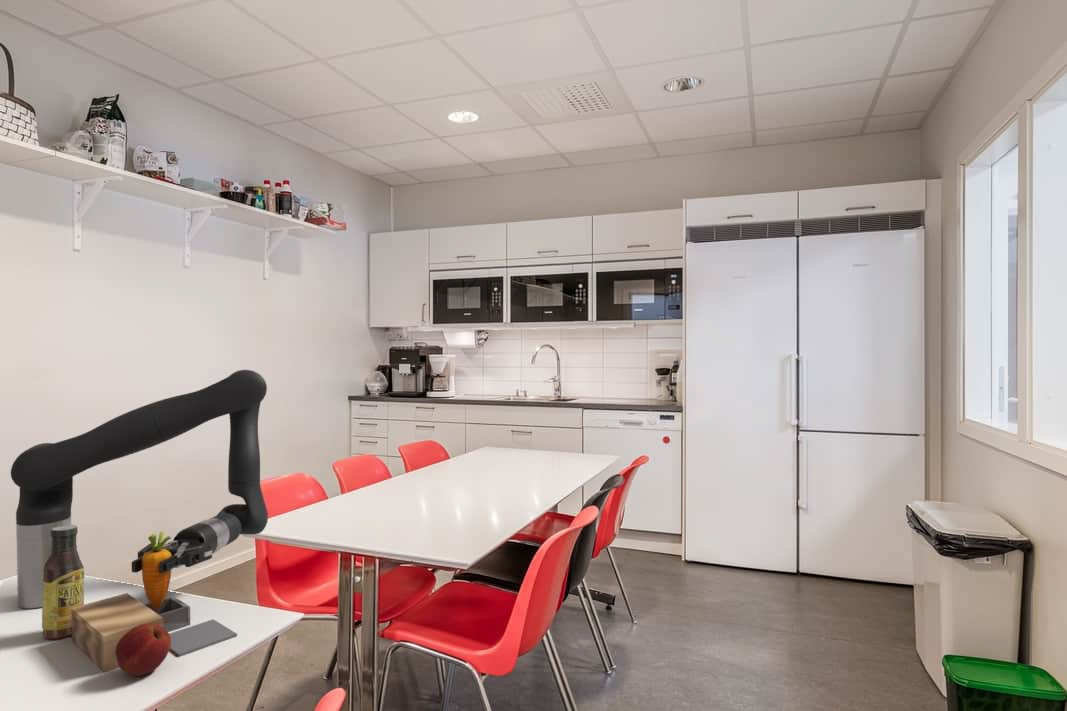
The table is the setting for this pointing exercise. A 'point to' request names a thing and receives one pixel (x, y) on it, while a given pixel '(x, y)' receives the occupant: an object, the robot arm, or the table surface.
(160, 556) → the carrot
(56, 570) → the sauce bottle
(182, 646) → the rubber mat
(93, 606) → the wooden drawer box
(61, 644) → the table surface
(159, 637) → the apple
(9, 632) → the table surface
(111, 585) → the table surface
